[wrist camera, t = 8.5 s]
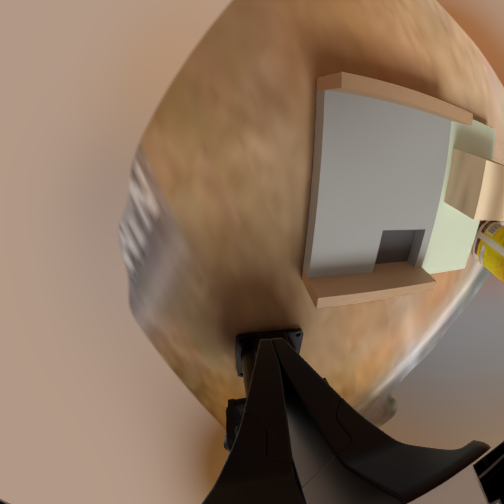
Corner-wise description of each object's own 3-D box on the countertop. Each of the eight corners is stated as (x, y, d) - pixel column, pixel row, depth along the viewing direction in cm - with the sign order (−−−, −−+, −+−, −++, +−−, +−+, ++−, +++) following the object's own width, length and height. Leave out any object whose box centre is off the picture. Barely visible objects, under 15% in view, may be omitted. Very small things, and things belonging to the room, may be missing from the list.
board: (301, 278, 23) (316, 308, 20) (316, 77, 16) (341, 71, 12) (456, 262, 26) (477, 280, 22) (486, 127, 18) (514, 136, 15)
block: (491, 160, 18) (519, 172, 15) (482, 205, 21) (508, 221, 17) (452, 148, 17) (486, 159, 14) (443, 201, 20) (473, 219, 16)
